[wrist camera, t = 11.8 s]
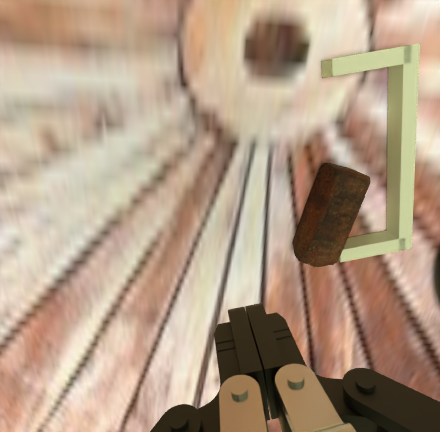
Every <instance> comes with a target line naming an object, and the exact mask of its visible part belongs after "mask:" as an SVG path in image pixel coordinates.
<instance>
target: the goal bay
mask: <svg viewBox="0 0 440 432" xmlns="http://www.w3.org/2000/svg"><path fill="white" fill-rule="evenodd" d="M419 51H420V43H419V44H414V45H408V46H402V47H396V48H391V49H385V50H379V51H373V52H368V53H362V54H356V55H350V56H345V57H339V58H333V59H329V60H325V61H322V78H324V77H332V76H338V75H344V74H349V73H355V72H361V71H366V70H372V69H378V68H383V67H388V129H387V218H386V231H381V232H376V233H371V234H365V235H360V236H355V237H350V238H348V239H347V242H346V244H345V246H344V249H343V251H342V253H341V256H340V258H339V261H340V262H345V261H350V260H355V259H360V258H365V257H370V256H375V255H380V254H385V253H390V252H395V251H400V250H405V249H410V248H412V223H413V198H414V174H415V149H416V125H417V100H418V75H419Z"/></svg>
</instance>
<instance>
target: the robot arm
mask: <svg viewBox="0 0 440 432" xmlns="http://www.w3.org/2000/svg"><path fill="white" fill-rule="evenodd" d="M245 309H246V311H245ZM228 314H229V320H230V322H228V323H223V324H218V325H217V328H216V330H215V333H214V337H215V344H216V351H217V359H218V367H219V374H220V383H221V385H220V390H219V392H218V394H217V395H216V397H215V398H214V399H213V400H212V401H211V402H210V403H208V404H206V405H205V406H203V407H201V408H199V409H196V408H195V407H193V406H191V405H187V404H182V405H177V406H174V407H172V408H171V409H169V410H168V411H167V412H165V414H164V415H163V416H162V417H161V418H160V420H159V421H158V422H157V424H156V425H155V426H154V427H153V429H152V430H151V431H150V432H268V425H267V420H270V416H269V411H270V414H271V418H272V419H276V418H279V422H280V425H281V429H282V432H440V402H439V401H437V400H434V399H432V398H430V397H428V396H426V395H424V394H422V393H420V392H418V391H415V390H413V389H411V388H409V387H407V386H405V385H403V384H401V383H399V382H396V381H394V380H392V379H390V378H388V377H386V376H384V375H382V374H380V373H377V372H375V371H373V370H370V369H366V368H355V369H352V370H350V371H348V372H347V373H346V374H345V375H344V377H343V379H331V378H325V377H321V376H318V375H316V374H315V373H314V372H313V371H312V370H311V369H309V368H308V367H307V366H306V364H305V362H304V360H303V358H302V355H301V353H300V351H299V349H298V347H297V345H296V342H295V340H294V338H293V336H292V334H291V331H290V330H289V327H288V325H287V323H286V320H285V319H284V318H283V317H282V316H280V315H279V314H278V313H272V314H267V315H266V312H265V309H264V307H263V304H262V303H259V304H254V305H249V306H245V308H244V307H240V308H235V309H230V310H228ZM268 407H269V409H268Z"/></svg>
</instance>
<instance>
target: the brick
mask: <svg viewBox="0 0 440 432" xmlns="http://www.w3.org/2000/svg"><path fill="white" fill-rule="evenodd" d="M369 185H370V177H369V176H367V175H364V174H362V173H360V172H357V171H355V170H353V169H350V168H346V167H342V166H338V165H334V164H330V163H324V165H323V166H322V167H321V168H320V170H319V173H318V176H317V179H316V182H315V184H314V186H313V188H312V190H311V192H310V195H309V198H308V201H307V203H306V206H305V209H304V212H303V215H302V218H301V221H300V223H299V226H298V229H297V232H296V234H295V237H294V240H293V246H294V253H295V256H296V258H298V260H299V261H301V262H303V263H306V264H310V265H311V266H313V267H322V266H326V265H334V264H335V263H337V262H338V260H339V258H340V256H341V253H342V251H343V249H344V246H345V244H346V242H347V239H348V236H349V234H350V231H351V229H352V226H353V224H354V221H355V219H356V217H357V214H358V212H359V209H360V207H361V204H362V202H363V200H364V198H365V194H366V192H367V190H368V187H369Z"/></svg>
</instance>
